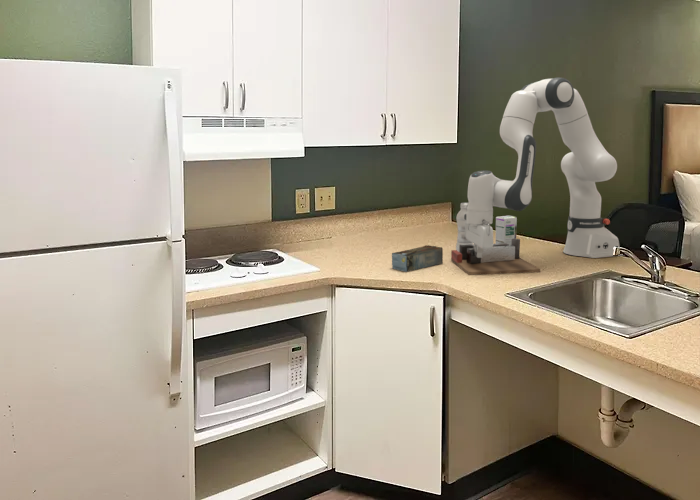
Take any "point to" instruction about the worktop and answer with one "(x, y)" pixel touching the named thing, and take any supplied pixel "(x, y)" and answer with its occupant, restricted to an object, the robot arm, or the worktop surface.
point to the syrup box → (506, 229)
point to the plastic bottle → (461, 227)
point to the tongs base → (492, 267)
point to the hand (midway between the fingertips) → (478, 257)
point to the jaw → (492, 254)
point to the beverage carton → (417, 258)
